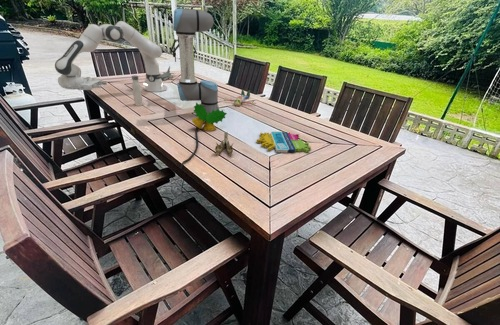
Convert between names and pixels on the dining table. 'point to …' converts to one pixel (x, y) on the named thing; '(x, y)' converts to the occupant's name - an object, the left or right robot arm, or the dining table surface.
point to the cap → (134, 77)
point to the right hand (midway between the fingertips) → (184, 61)
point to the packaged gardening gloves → (283, 142)
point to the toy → (241, 99)
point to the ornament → (207, 117)
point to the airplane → (166, 74)
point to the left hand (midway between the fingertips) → (103, 84)
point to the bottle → (137, 93)
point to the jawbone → (224, 145)
